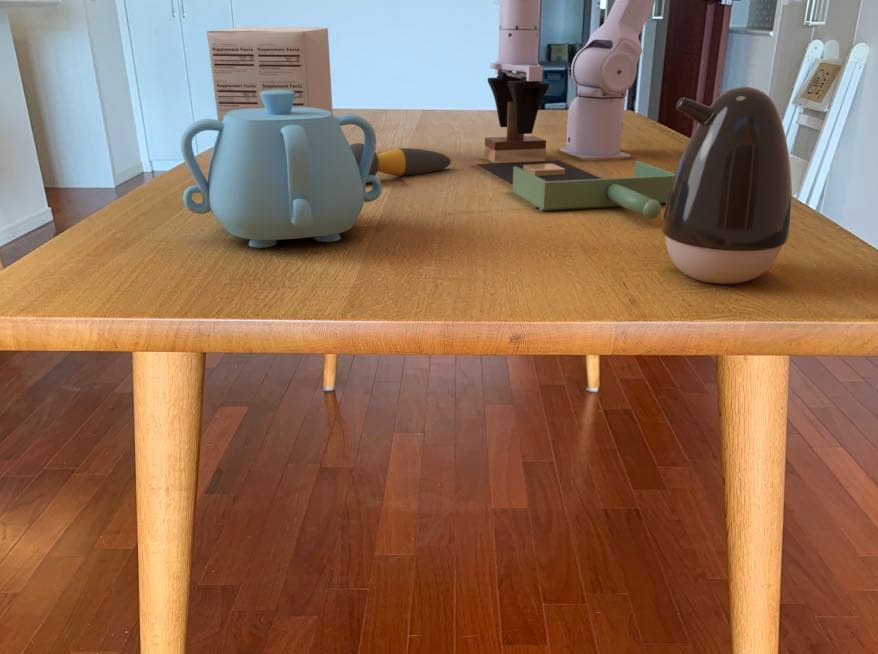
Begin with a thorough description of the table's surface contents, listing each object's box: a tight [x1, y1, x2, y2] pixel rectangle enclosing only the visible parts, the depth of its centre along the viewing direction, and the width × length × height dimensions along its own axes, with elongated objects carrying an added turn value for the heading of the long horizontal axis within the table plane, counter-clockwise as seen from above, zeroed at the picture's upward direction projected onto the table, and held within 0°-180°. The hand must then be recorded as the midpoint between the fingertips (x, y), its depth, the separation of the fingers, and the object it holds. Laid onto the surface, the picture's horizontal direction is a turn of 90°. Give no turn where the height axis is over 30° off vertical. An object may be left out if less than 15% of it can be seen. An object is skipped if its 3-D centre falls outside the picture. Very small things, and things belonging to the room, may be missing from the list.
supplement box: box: [206, 26, 334, 122], centre depth 116 cm, size 17×13×18 cm
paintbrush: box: [349, 142, 452, 177], centre depth 108 cm, size 20×5×5 cm, turn 134°
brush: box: [484, 101, 547, 163], centre depth 120 cm, size 5×8×8 cm, turn 106°
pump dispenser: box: [661, 86, 793, 285], centre depth 66 cm, size 10×10×15 cm
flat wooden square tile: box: [523, 164, 565, 176], centre depth 111 cm, size 4×4×1 cm
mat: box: [476, 160, 602, 186], centre depth 112 cm, size 18×13×1 cm
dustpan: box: [512, 160, 676, 220], centre depth 93 cm, size 20×17×3 cm
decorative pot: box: [180, 90, 383, 249], centre depth 79 cm, size 16×16×14 cm
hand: (515, 130), depth 120 cm, fingers open, 7 cm apart
